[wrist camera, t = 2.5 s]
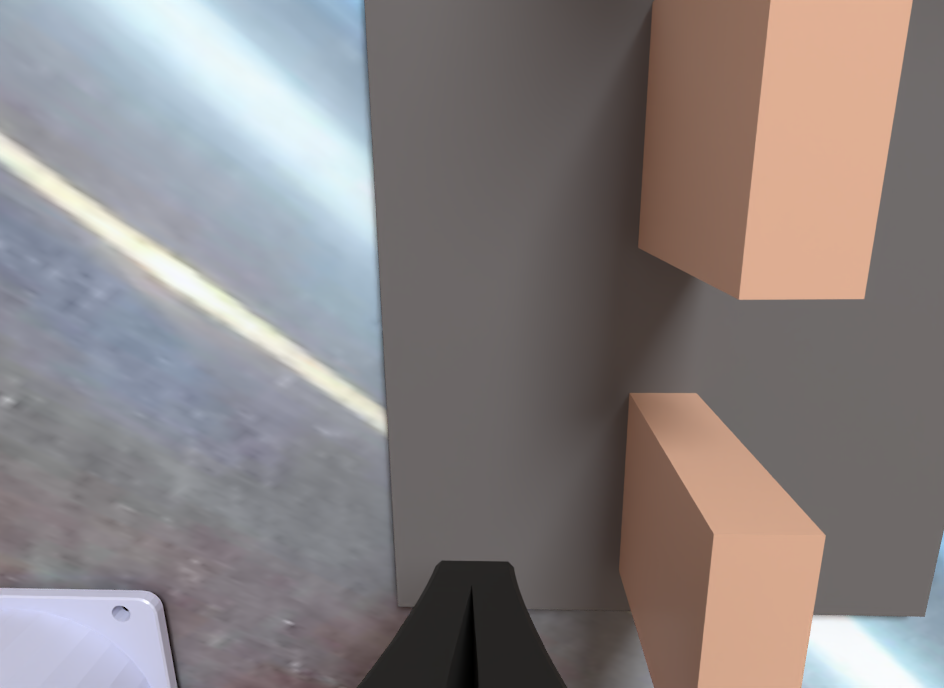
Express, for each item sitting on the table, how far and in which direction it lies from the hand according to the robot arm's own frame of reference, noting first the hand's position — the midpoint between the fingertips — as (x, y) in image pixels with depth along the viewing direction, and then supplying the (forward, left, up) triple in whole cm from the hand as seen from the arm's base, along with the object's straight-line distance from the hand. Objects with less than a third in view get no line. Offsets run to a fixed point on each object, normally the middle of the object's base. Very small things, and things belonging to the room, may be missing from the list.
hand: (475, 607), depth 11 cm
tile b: (+4, +8, -5) cm, 11 cm away
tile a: (+4, 0, -5) cm, 6 cm away
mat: (+5, +4, -5) cm, 8 cm away
